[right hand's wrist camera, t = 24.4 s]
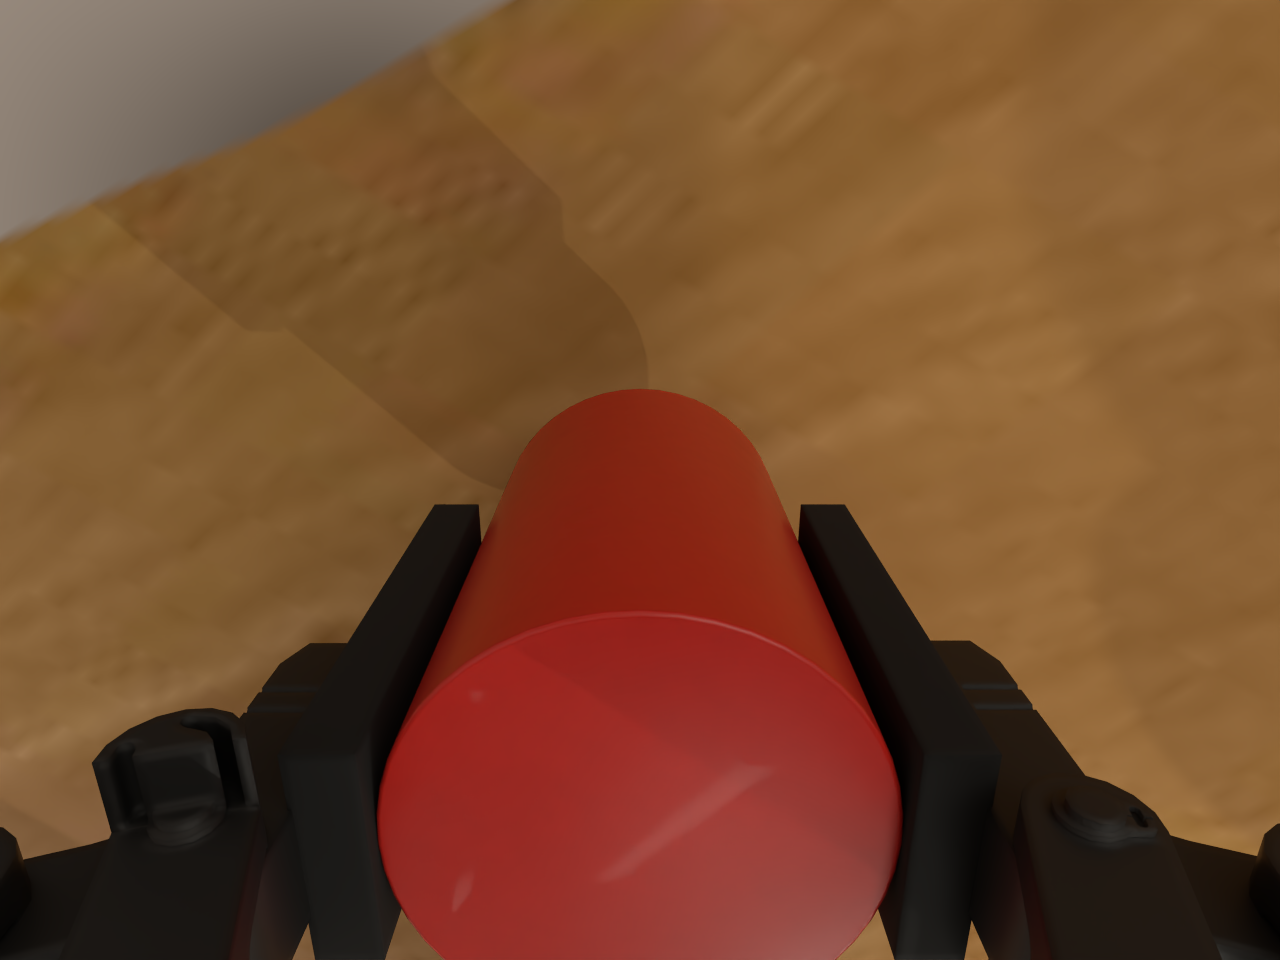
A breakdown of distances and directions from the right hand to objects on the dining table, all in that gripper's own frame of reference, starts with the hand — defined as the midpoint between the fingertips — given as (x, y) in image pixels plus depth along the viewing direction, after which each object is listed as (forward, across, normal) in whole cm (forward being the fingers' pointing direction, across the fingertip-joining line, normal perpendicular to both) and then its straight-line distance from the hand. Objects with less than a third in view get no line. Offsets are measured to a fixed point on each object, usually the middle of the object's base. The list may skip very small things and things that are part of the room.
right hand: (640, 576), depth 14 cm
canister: (+3, 0, 0) cm, 3 cm away
